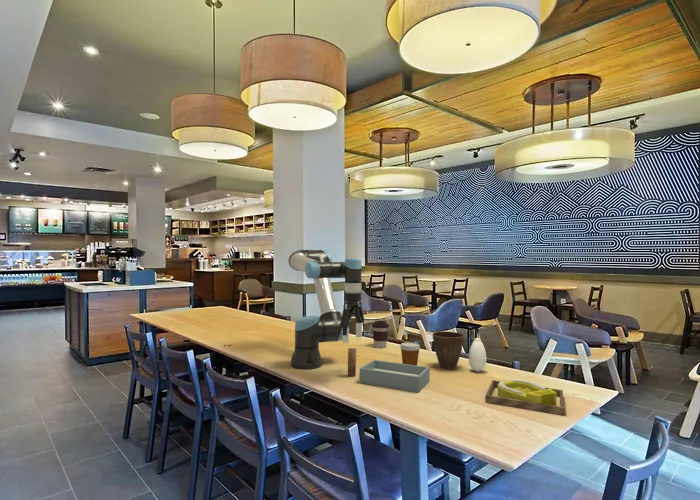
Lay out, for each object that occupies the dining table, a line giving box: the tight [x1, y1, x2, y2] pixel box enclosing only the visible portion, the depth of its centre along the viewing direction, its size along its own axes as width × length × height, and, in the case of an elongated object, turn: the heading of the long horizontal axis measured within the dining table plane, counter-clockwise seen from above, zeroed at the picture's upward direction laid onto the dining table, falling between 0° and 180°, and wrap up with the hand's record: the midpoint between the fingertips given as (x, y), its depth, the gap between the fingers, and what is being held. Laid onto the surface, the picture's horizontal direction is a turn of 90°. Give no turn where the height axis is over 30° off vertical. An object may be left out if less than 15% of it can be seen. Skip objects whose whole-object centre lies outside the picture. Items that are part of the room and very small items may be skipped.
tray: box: [358, 359, 431, 393], centre depth 173 cm, size 26×16×6 cm, turn 64°
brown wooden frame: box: [484, 379, 565, 416], centre depth 154 cm, size 26×21×2 cm
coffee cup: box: [371, 320, 390, 349], centre depth 238 cm, size 10×10×15 cm
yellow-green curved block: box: [497, 378, 557, 406], centre depth 154 cm, size 16×21×5 cm
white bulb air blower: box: [468, 333, 487, 373], centre depth 190 cm, size 8×8×18 cm
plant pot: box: [432, 331, 465, 370], centre depth 197 cm, size 15×15×16 cm
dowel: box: [347, 347, 357, 378], centre depth 181 cm, size 4×4×12 cm
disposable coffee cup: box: [399, 342, 421, 366], centre depth 191 cm, size 10×10×12 cm
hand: (352, 339), depth 180 cm, fingers open, 13 cm apart
